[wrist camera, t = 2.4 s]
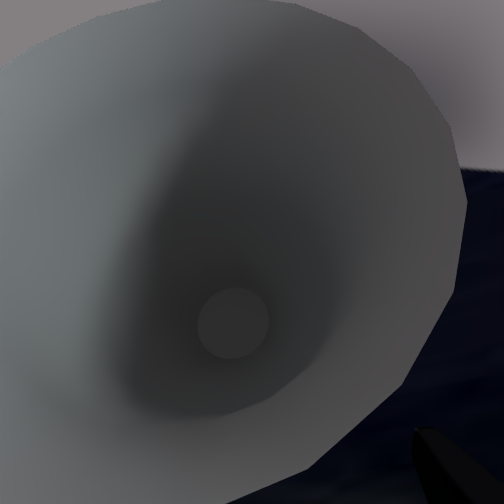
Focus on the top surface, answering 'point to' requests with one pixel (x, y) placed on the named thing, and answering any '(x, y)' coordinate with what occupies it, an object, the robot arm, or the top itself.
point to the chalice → (210, 248)
